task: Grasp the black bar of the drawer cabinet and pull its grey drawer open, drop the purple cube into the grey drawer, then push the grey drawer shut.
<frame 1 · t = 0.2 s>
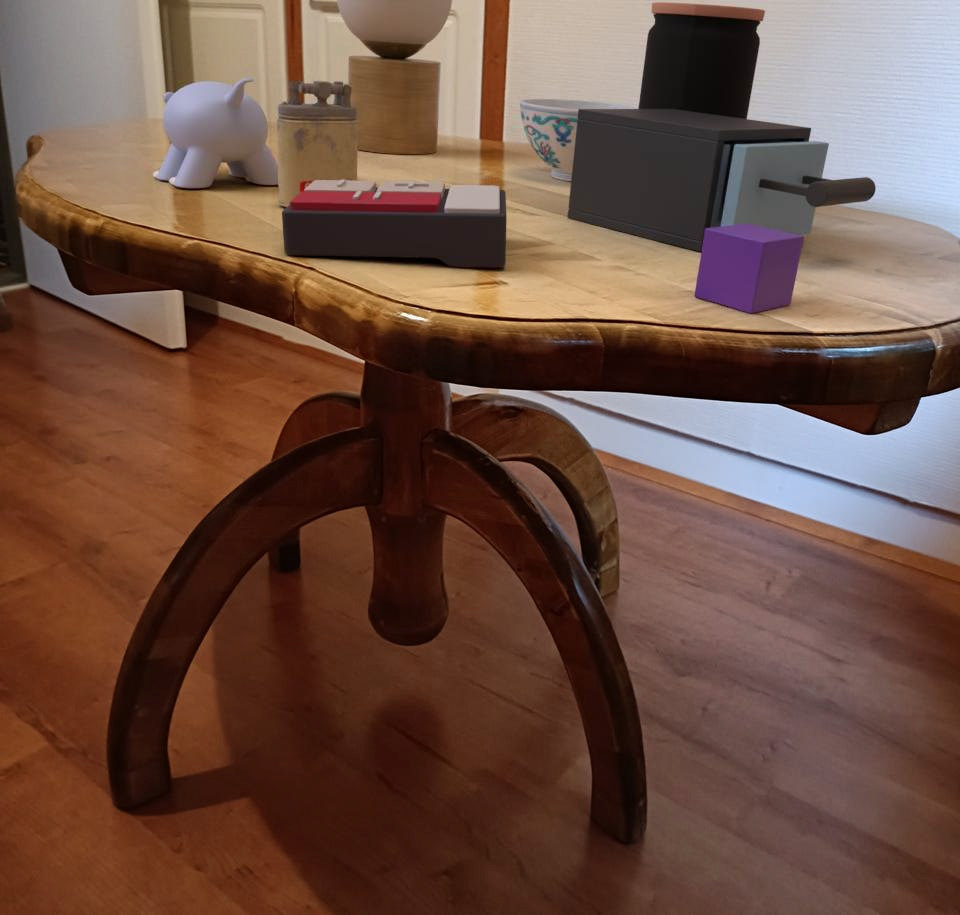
coffee jar: (679, 201, 98), on the table
hippopotamus toy: (214, 181, 91), on the table
purple cube: (742, 300, 62), on the table
chinaware: (580, 180, 108), on the table
lamp: (390, 148, 123), on the table
lighter: (317, 207, 82), on the table
drawer cabinet: (677, 228, 84), on the table
grey drawer: (740, 185, 78), point 5 cm above the table, slide at 1.0 cm
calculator: (400, 249, 70), on the table
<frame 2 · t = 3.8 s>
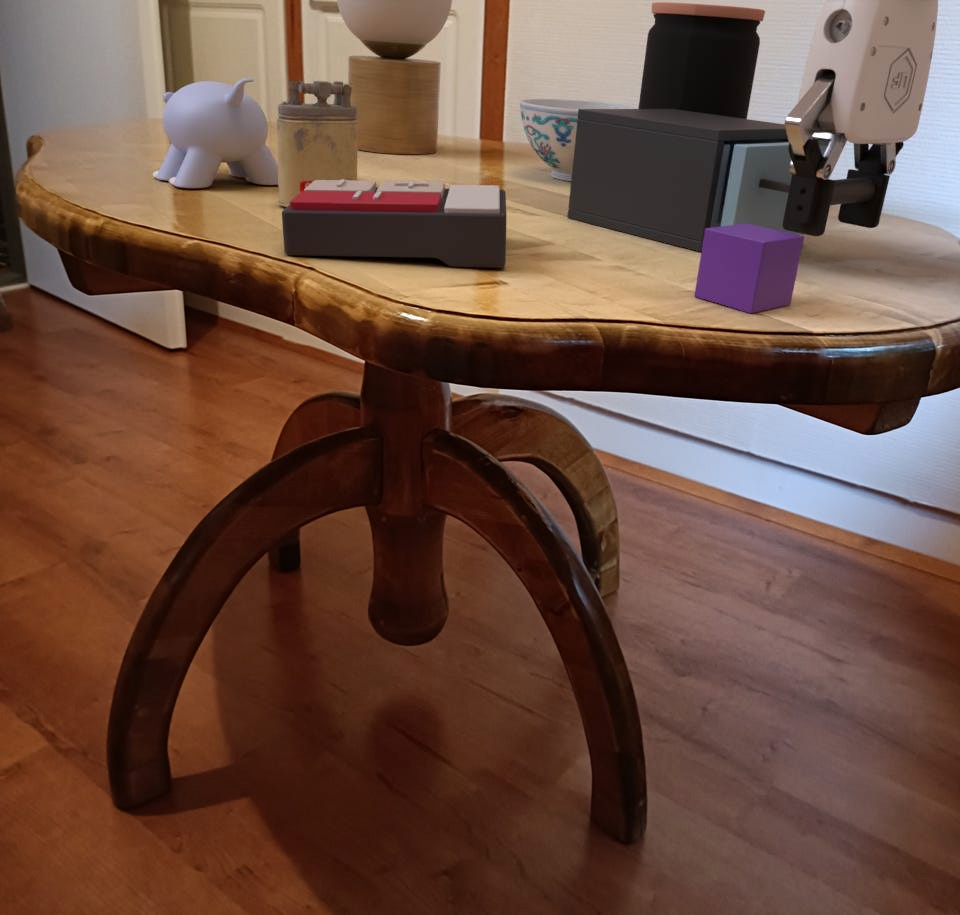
hand: (830, 226, 73), 3 cm above the table, tool pointing down, fingers closed on grey drawer, 7 cm apart
grey drawer: (740, 185, 78), point 5 cm above the table, slide at 1.0 cm, touching gripper
everything else where it was.
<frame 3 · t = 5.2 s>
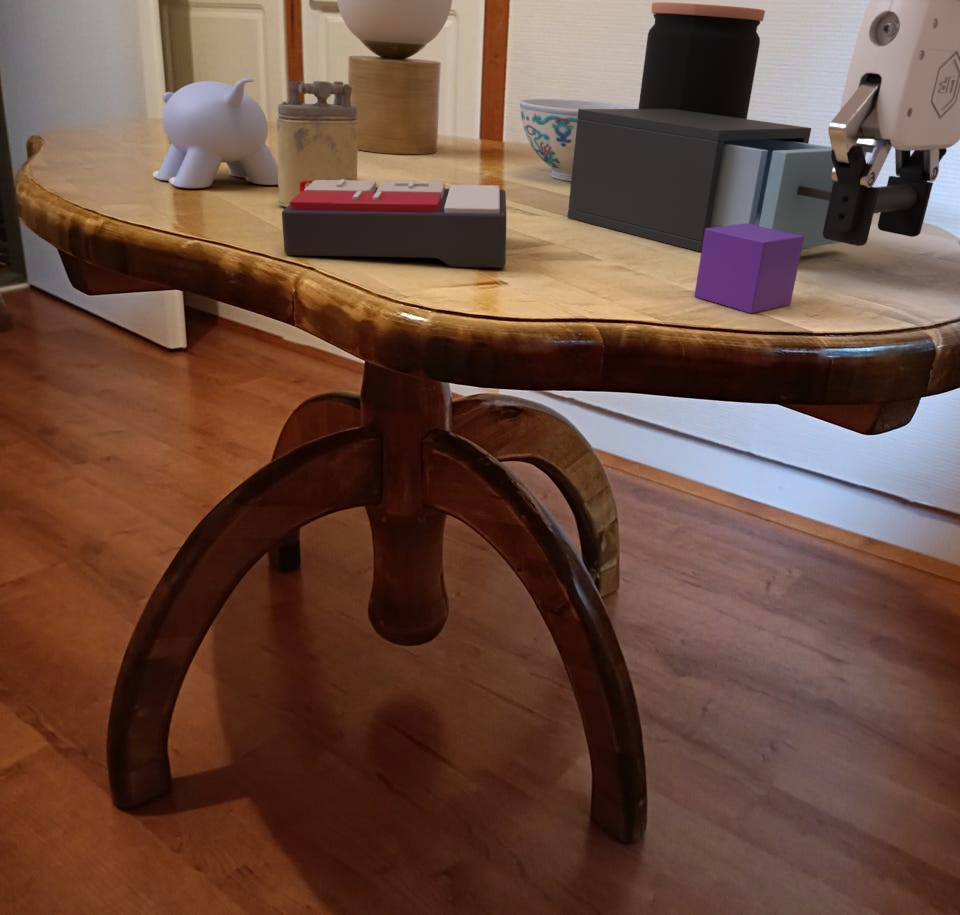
hand: (871, 235, 71), 3 cm above the table, tool pointing down, fingers closed on grey drawer, 7 cm apart
grey drawer: (776, 192, 76), point 5 cm above the table, slide at 4.3 cm, touching gripper
everything else where it was.
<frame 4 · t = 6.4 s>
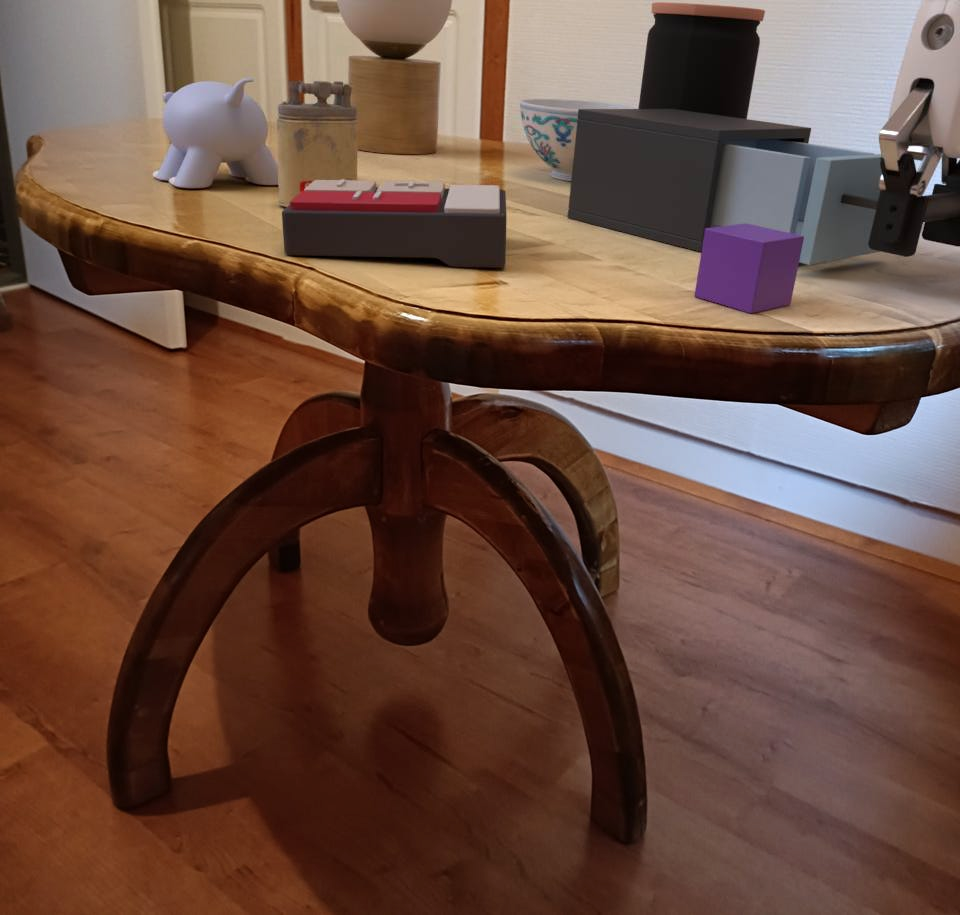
hand: (918, 245, 68), 3 cm above the table, tool pointing down, fingers closed on grey drawer, 7 cm apart
grey drawer: (816, 199, 73), point 5 cm above the table, slide at 7.9 cm, touching gripper
everything else where it was.
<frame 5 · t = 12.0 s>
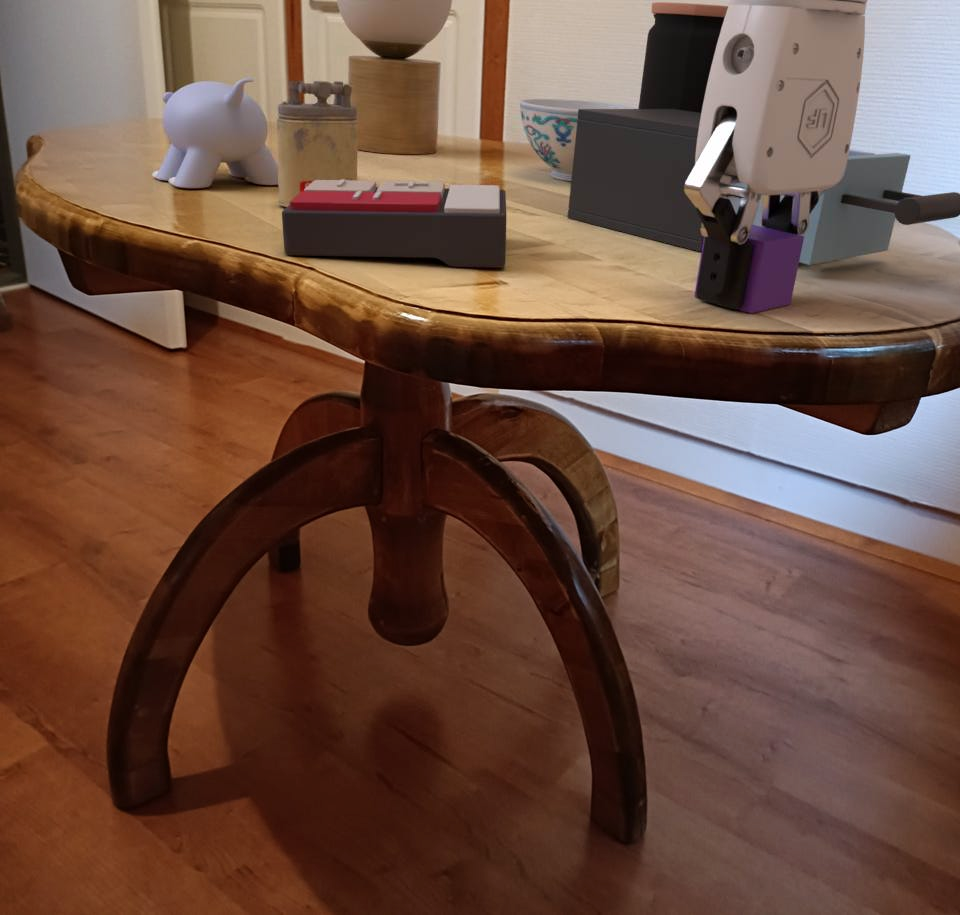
hand: (743, 295, 62), 0 cm above the table, tool pointing down, fingers closed on purple cube, 4 cm apart
purple cube: (742, 300, 62), on the table, touching gripper
grey drawer: (816, 199, 73), point 5 cm above the table, slide at 7.9 cm
everything else where it was.
when the fingers open (8 cm above the table, at t = 17.7 s): purple cube stays where it is, resting on grey drawer.
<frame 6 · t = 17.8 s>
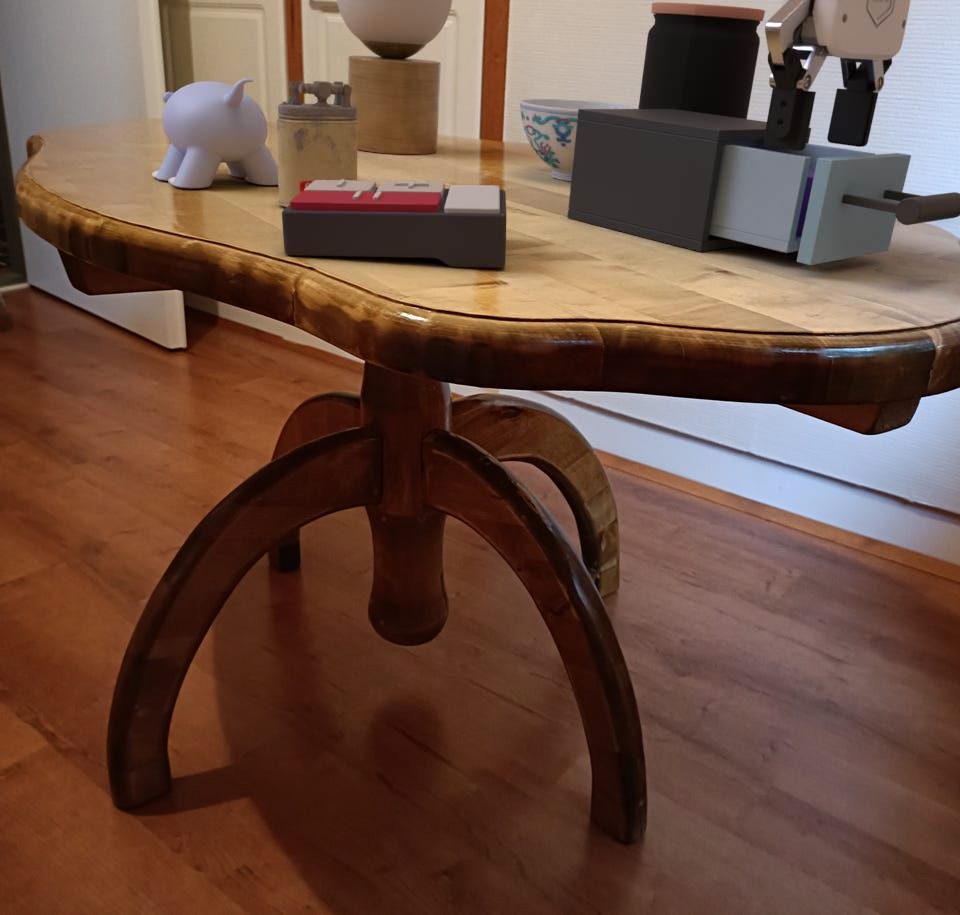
hand: (816, 145, 72), 8 cm above the table, tool pointing down, fingers open, 8 cm apart
purple cube: (797, 230, 75), point 2 cm above the table, touching grey drawer
grey drawer: (816, 199, 73), point 5 cm above the table, slide at 8.0 cm, touching purple cube
everything else where it was.
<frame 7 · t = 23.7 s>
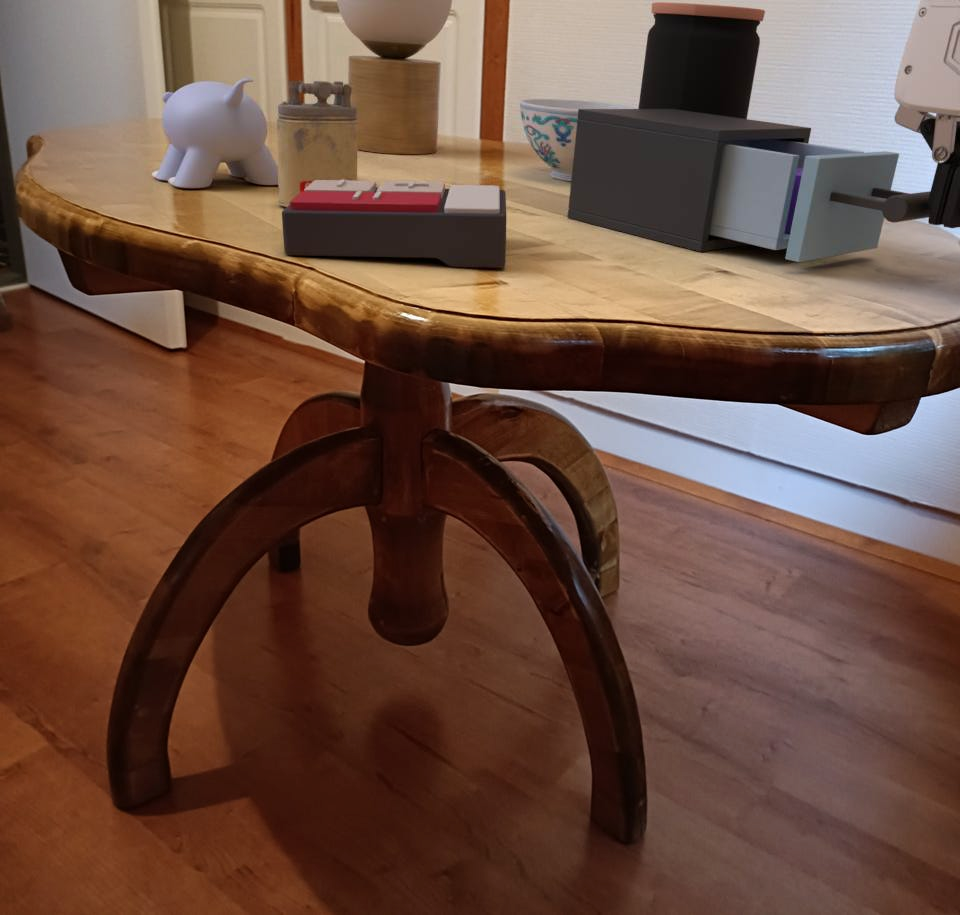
hand: (948, 224, 66), 5 cm above the table, tool pointing down, fingers closed
grey drawer: (805, 197, 74), point 5 cm above the table, slide at 7.0 cm, touching gripper, purple cube
everything else where it was.
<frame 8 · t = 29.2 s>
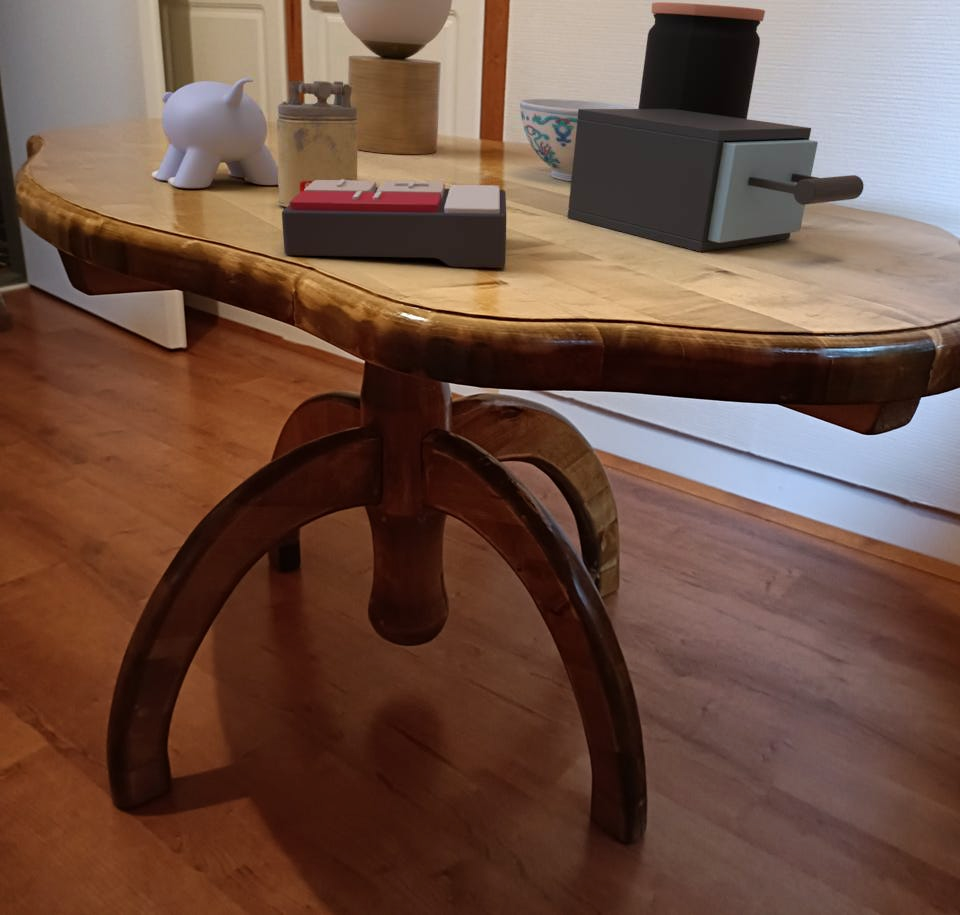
purple cube: (714, 212, 80), point 2 cm above the table, touching grey drawer
grey drawer: (730, 183, 79), point 5 cm above the table, slide at 0.0 cm, touching drawer cabinet, purple cube
everything else where it was.
at the end: grey drawer pulled out 8.0 cm at the most during the clip, back to where it started at the end; purple cube inside the target area in the drawer cabinet (3.6 cm from its centre), point 2.0 cm above the drawer cabinet's base; grey drawer slide at 0.0 cm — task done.
